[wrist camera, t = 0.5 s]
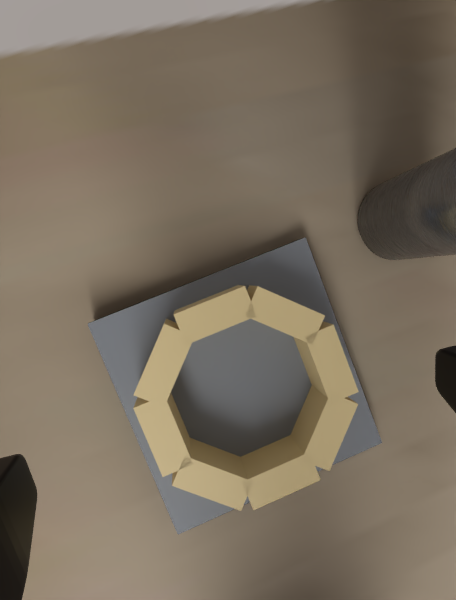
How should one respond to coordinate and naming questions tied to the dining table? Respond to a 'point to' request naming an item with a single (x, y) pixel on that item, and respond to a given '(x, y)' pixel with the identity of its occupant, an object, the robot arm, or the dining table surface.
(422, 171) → the shiny metal cylinder
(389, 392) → the dining table surface
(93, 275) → the dining table surface
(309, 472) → the nut plate
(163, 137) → the dining table surface
